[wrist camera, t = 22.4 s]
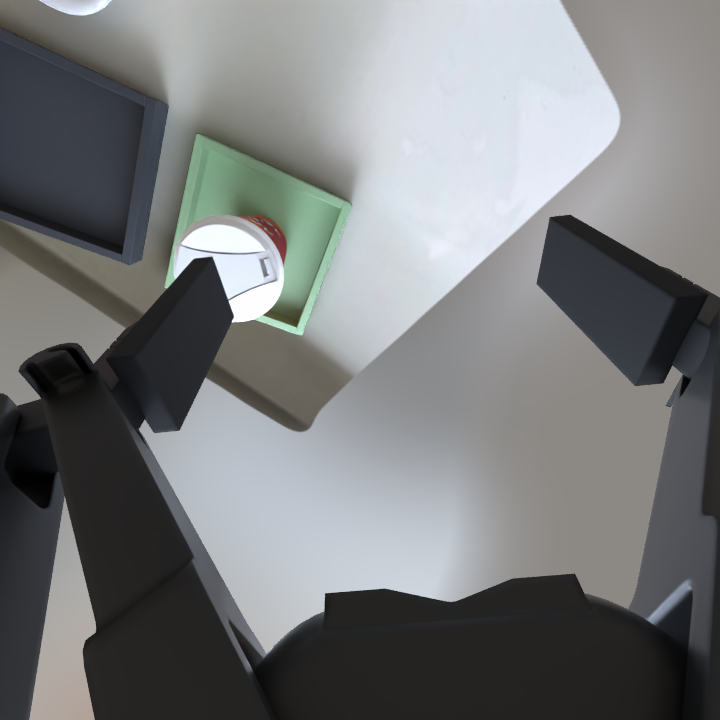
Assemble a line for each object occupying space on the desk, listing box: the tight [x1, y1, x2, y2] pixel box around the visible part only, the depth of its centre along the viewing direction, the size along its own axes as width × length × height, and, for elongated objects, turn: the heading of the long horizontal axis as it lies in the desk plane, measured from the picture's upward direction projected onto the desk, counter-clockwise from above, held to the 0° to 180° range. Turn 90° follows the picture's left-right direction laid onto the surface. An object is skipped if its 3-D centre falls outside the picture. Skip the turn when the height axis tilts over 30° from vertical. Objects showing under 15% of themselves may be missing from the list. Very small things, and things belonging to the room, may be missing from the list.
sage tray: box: [164, 133, 352, 336], centre depth 37 cm, size 15×15×3 cm
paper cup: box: [174, 215, 287, 322], centre depth 31 cm, size 8×8×14 cm
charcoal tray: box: [0, 27, 168, 265], centre depth 32 cm, size 15×15×3 cm
